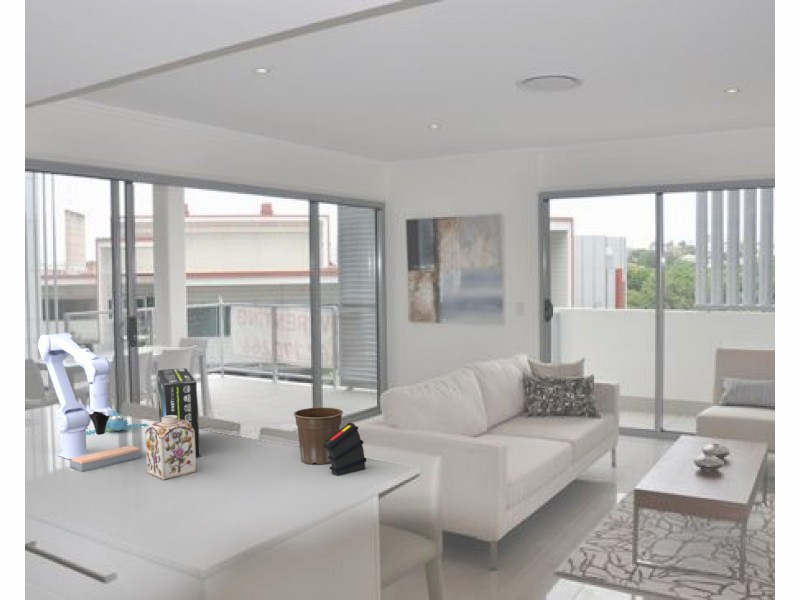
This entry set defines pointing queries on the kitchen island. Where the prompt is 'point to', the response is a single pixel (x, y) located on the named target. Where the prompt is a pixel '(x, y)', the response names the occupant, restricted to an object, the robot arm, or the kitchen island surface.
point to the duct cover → (105, 454)
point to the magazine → (346, 450)
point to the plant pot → (316, 432)
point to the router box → (179, 398)
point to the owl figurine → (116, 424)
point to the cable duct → (104, 461)
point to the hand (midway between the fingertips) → (100, 434)
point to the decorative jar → (170, 448)
